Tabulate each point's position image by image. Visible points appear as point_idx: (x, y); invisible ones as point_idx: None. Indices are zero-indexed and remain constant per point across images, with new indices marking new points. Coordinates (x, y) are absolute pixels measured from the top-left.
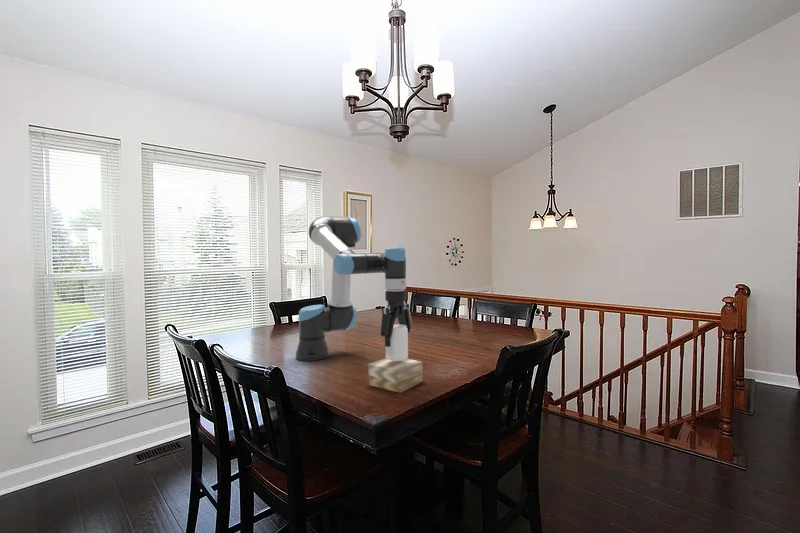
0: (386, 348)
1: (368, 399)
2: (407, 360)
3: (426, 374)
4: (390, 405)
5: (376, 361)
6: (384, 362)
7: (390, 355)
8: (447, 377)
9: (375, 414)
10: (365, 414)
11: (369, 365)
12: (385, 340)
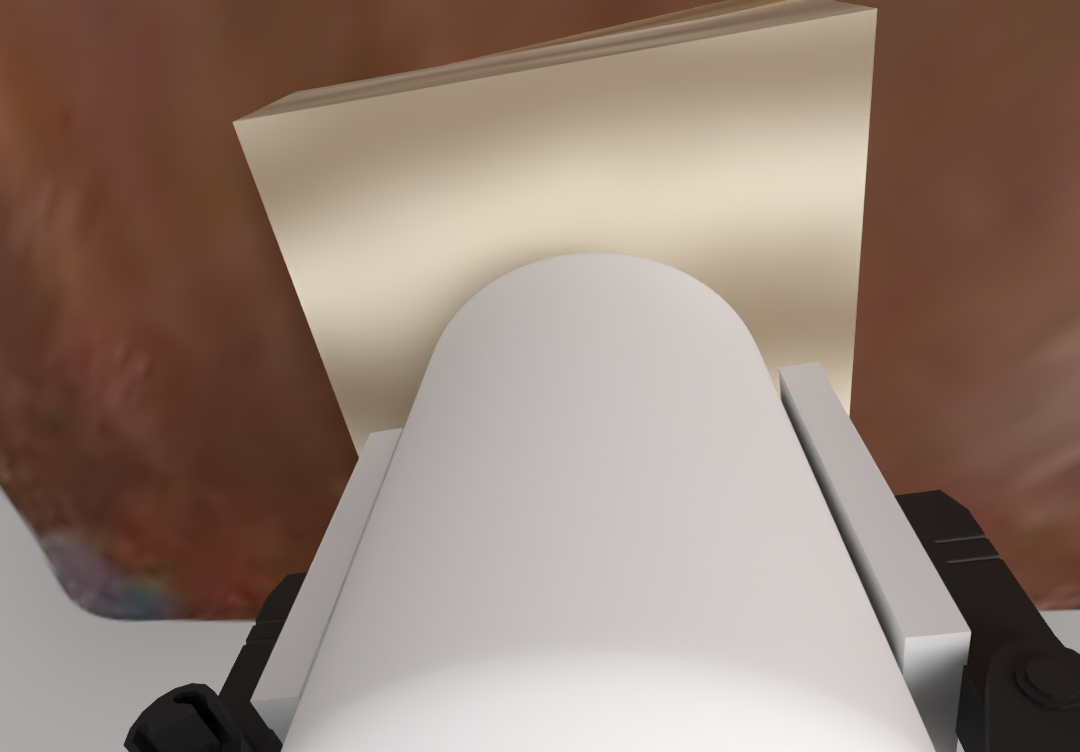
0: (346, 516)
1: (168, 370)
2: (776, 379)
3: (1011, 279)
4: (259, 530)
5: (414, 95)
6: (479, 229)
7: None
8: (1020, 463)
9: (118, 555)
10: (61, 522)
11: (249, 143)
12: (233, 684)
